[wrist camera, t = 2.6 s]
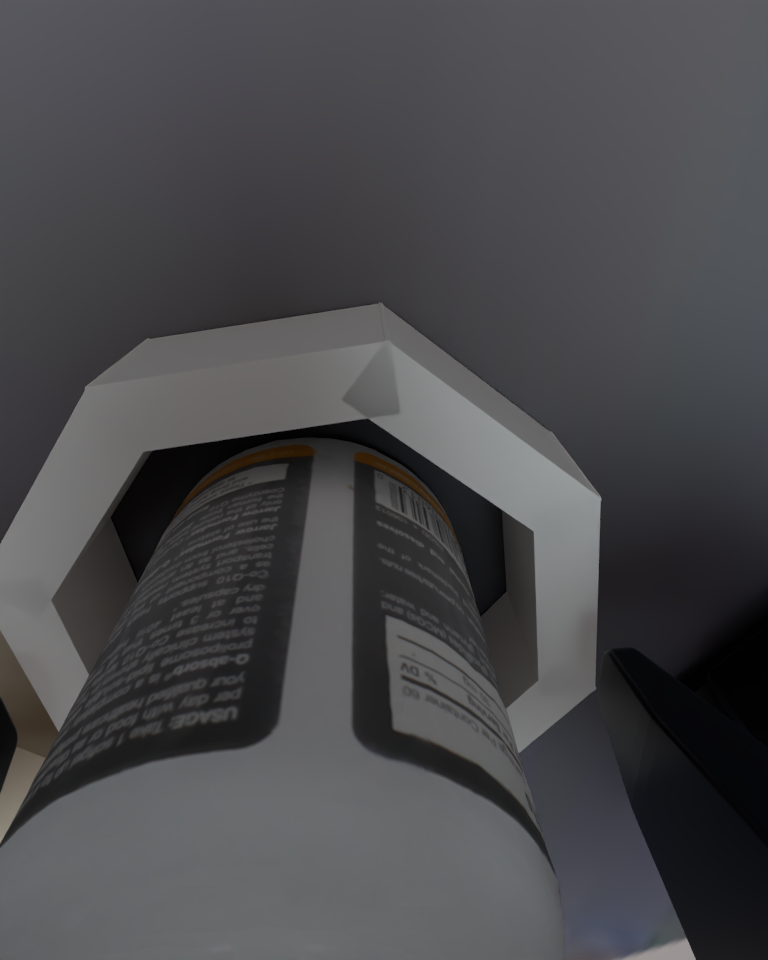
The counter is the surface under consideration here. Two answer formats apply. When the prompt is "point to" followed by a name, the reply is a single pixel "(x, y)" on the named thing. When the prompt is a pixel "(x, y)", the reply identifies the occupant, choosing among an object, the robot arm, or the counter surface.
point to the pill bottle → (288, 744)
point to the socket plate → (22, 734)
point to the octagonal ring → (293, 405)
